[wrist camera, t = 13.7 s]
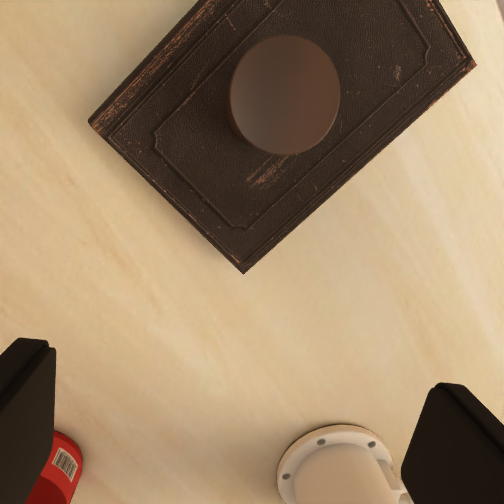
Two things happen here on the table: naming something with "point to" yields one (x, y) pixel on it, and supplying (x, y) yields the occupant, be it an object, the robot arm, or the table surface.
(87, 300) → the table surface
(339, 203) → the table surface
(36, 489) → the canned food
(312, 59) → the walnut cylinder
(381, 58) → the hardcover book
